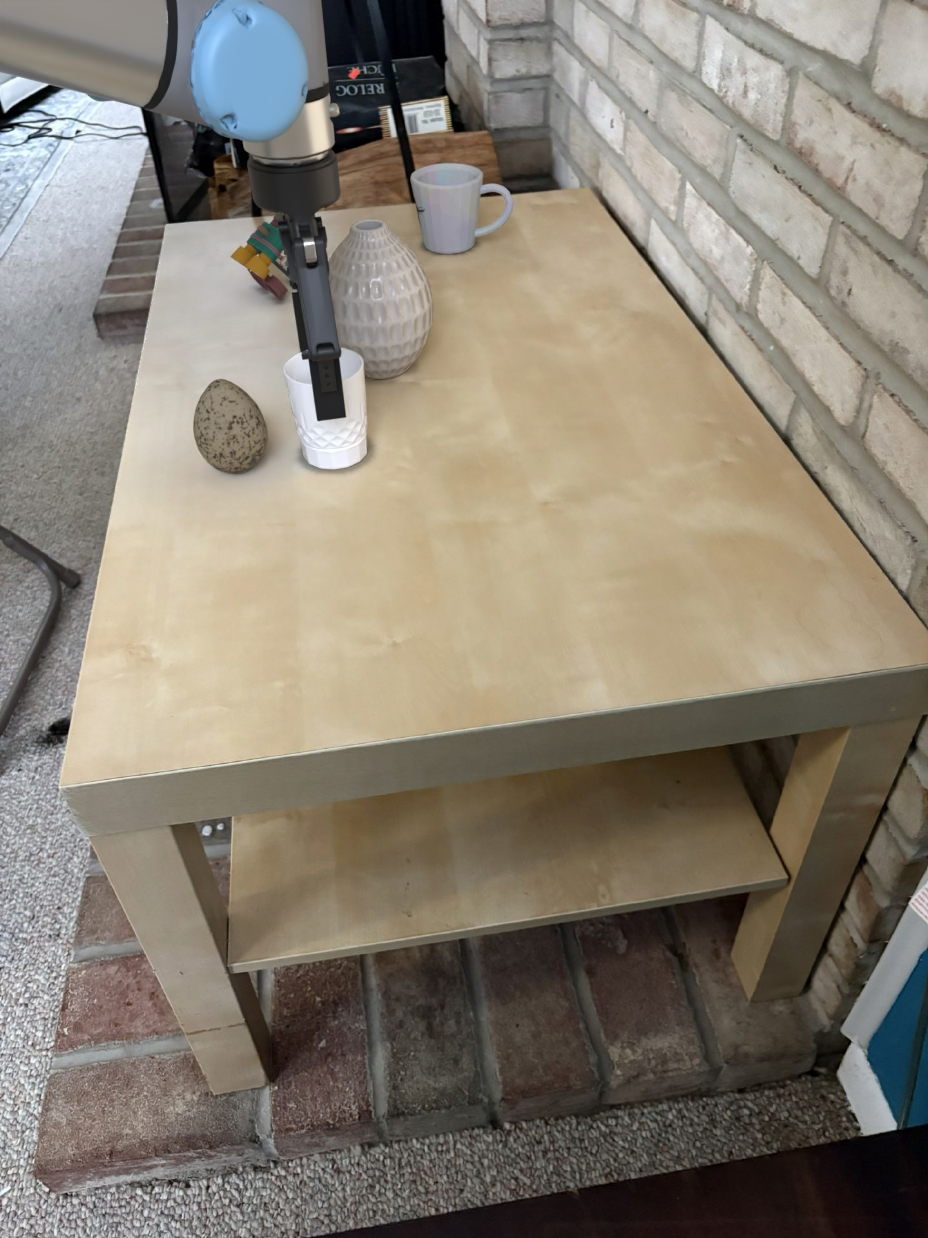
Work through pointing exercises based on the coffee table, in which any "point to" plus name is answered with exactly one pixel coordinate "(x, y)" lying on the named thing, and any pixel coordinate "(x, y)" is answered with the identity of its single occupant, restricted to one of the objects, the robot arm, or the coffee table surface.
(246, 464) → the decorative egg
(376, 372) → the vase
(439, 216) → the mug
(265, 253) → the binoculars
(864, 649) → the coffee table surface
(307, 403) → the white cup
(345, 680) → the coffee table surface
